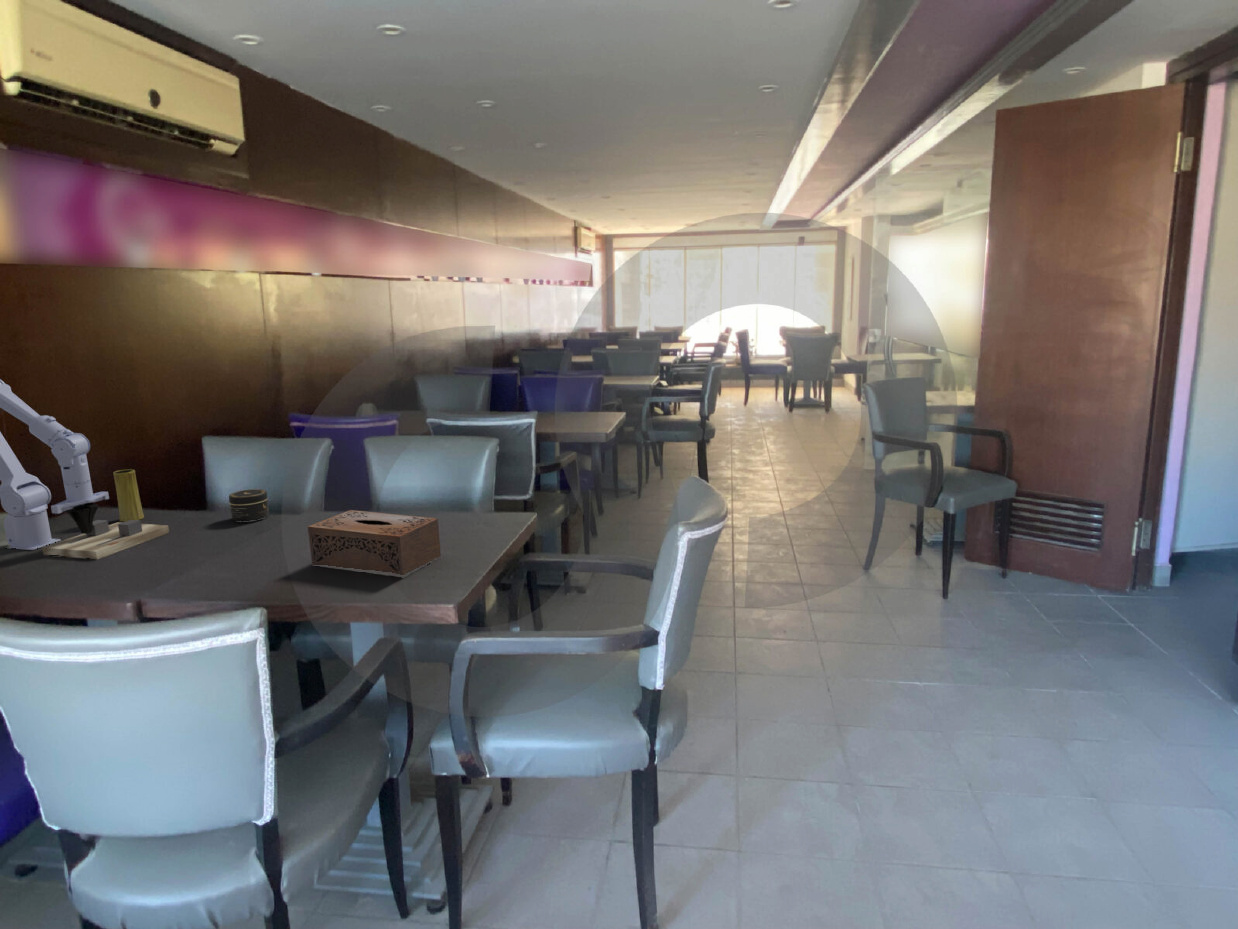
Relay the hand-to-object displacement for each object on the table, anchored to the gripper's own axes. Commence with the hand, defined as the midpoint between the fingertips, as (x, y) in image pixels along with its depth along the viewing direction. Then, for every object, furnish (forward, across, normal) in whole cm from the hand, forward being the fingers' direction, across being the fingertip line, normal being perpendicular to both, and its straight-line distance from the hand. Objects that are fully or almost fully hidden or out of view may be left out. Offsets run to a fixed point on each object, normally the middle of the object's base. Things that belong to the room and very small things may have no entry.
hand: (86, 532), depth 203 cm
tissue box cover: (+4, +3, -83) cm, 83 cm away
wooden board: (+3, +2, -4) cm, 6 cm away
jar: (+3, +29, -26) cm, 39 cm away
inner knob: (+1, +3, 0) cm, 3 cm away
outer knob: (+1, +5, -9) cm, 10 cm away
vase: (+3, +22, +9) cm, 24 cm away
